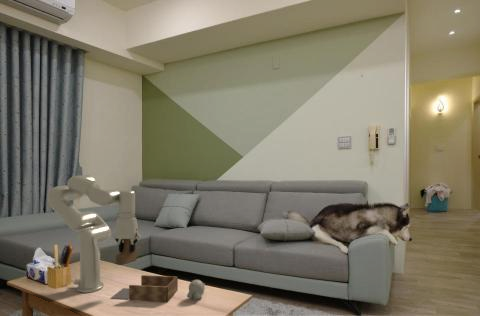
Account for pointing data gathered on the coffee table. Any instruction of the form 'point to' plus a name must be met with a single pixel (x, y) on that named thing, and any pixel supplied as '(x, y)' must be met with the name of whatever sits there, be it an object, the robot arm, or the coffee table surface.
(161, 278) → the crate
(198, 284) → the toy rhinoceros
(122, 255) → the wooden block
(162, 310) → the coffee table surface
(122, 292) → the mat
